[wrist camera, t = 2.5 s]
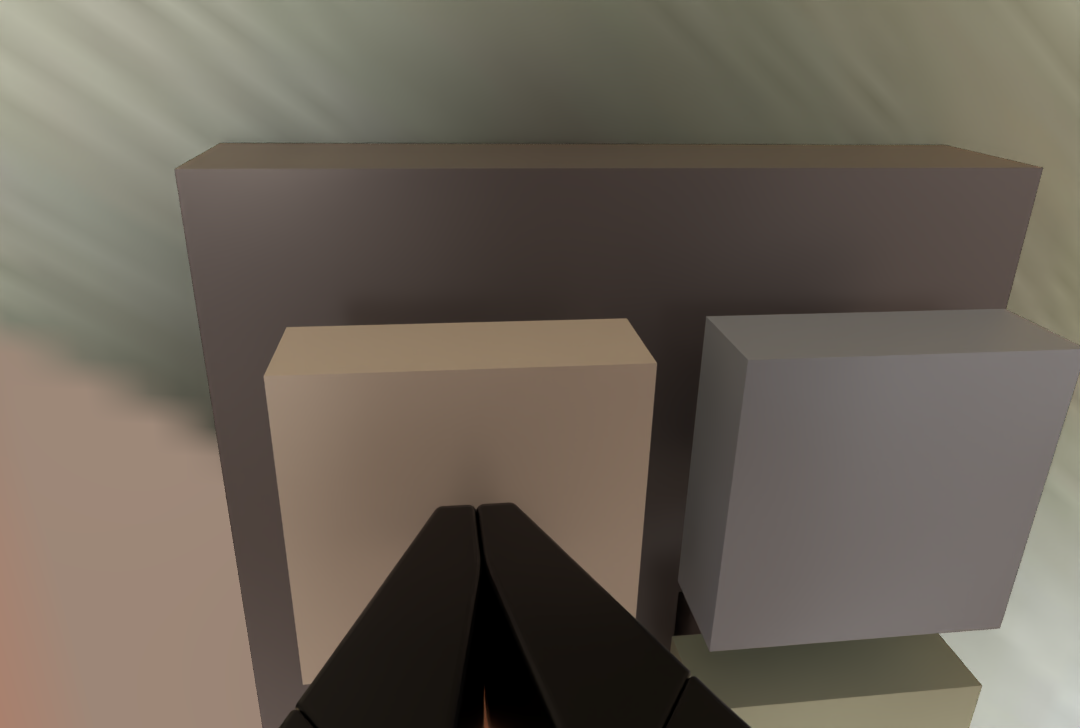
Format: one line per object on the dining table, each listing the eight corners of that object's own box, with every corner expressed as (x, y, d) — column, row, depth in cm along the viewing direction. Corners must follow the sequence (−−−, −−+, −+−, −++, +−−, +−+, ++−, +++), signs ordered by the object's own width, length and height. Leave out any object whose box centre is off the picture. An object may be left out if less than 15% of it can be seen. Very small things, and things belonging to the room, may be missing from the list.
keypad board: (945, 144, 14) (1043, 167, 12) (831, 677, 18) (885, 765, 16) (219, 143, 12) (174, 169, 10) (298, 724, 17) (278, 828, 15)
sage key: (833, 507, 15) (982, 685, 11) (802, 671, 16) (921, 879, 12) (625, 520, 14) (702, 710, 10) (613, 687, 16) (675, 909, 12)
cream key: (582, 253, 12) (657, 363, 8) (573, 475, 14) (632, 658, 10) (319, 256, 12) (263, 376, 8) (340, 487, 13) (302, 684, 9)
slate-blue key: (883, 249, 13) (1086, 348, 9) (842, 461, 15) (999, 627, 11) (645, 252, 12) (747, 360, 8) (629, 472, 14) (709, 651, 10)
